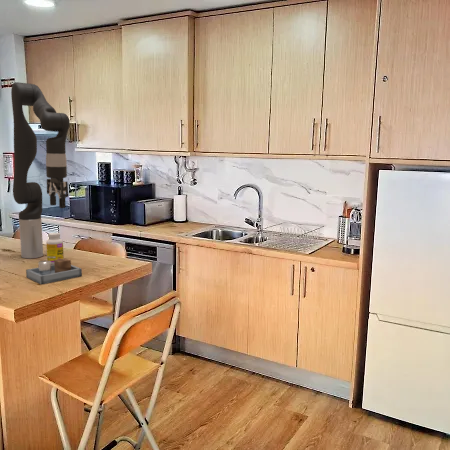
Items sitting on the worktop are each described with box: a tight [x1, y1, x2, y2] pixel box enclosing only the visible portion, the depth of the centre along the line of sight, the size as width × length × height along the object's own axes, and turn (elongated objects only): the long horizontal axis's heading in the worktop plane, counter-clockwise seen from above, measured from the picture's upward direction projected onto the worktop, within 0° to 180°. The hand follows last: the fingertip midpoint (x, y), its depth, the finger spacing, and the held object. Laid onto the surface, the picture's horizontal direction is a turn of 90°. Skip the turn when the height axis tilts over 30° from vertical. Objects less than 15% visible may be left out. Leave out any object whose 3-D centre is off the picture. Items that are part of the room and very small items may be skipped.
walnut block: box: [54, 257, 72, 273], centre depth 184 cm, size 4×4×5 cm
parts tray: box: [25, 264, 83, 285], centre depth 182 cm, size 13×16×3 cm
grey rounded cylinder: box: [37, 259, 52, 275], centre depth 179 cm, size 4×4×6 cm
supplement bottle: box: [45, 232, 65, 265], centre depth 202 cm, size 7×7×13 cm
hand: (57, 206), depth 188 cm, fingers open, 8 cm apart
